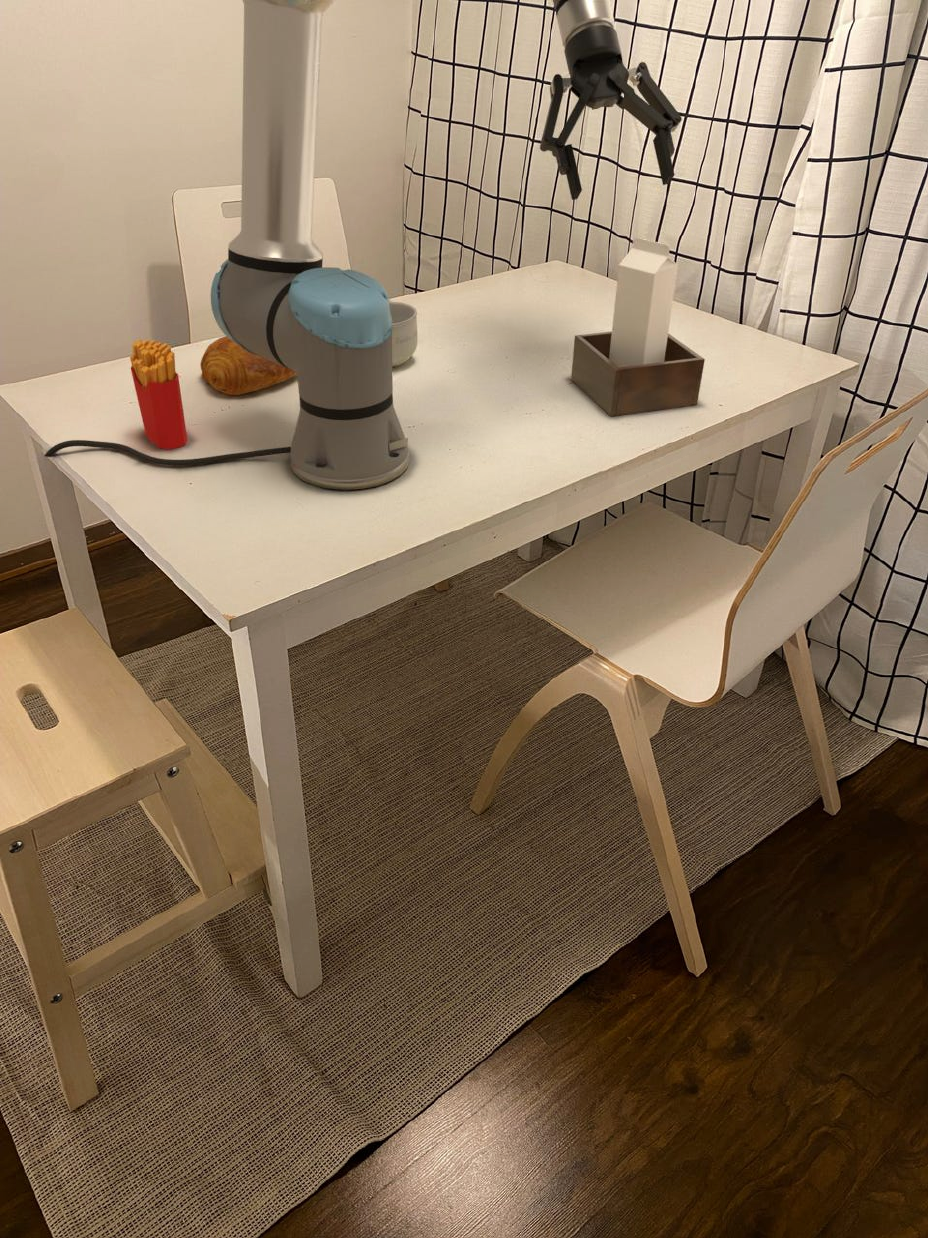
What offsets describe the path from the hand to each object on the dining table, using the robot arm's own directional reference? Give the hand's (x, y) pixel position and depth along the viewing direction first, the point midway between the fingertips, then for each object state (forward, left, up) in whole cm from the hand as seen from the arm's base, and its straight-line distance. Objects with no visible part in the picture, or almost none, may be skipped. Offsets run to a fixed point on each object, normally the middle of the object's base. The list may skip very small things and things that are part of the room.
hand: (623, 187), depth 134 cm
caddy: (+1, -7, -27) cm, 28 cm away
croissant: (-53, +15, -28) cm, 61 cm away
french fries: (-67, -3, -28) cm, 72 cm away
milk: (+1, -7, -28) cm, 29 cm away
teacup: (-31, +17, -28) cm, 44 cm away
